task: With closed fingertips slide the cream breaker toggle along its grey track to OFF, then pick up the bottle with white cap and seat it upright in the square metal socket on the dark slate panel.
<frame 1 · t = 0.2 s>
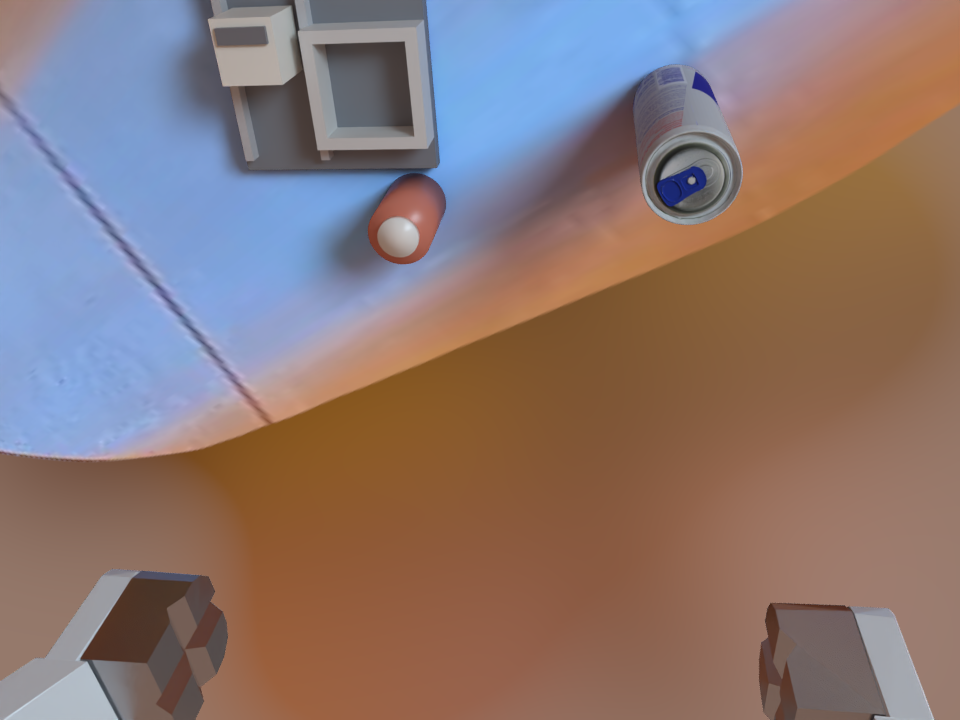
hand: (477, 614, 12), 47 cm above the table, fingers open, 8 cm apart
bottle with white cap: (416, 201, 59), on the table
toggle: (256, 46, 51), point 4 cm above the table, slide at 0.0 cm
panel: (323, 16, 53), on the table
beverage can: (671, 100, 53), on the table
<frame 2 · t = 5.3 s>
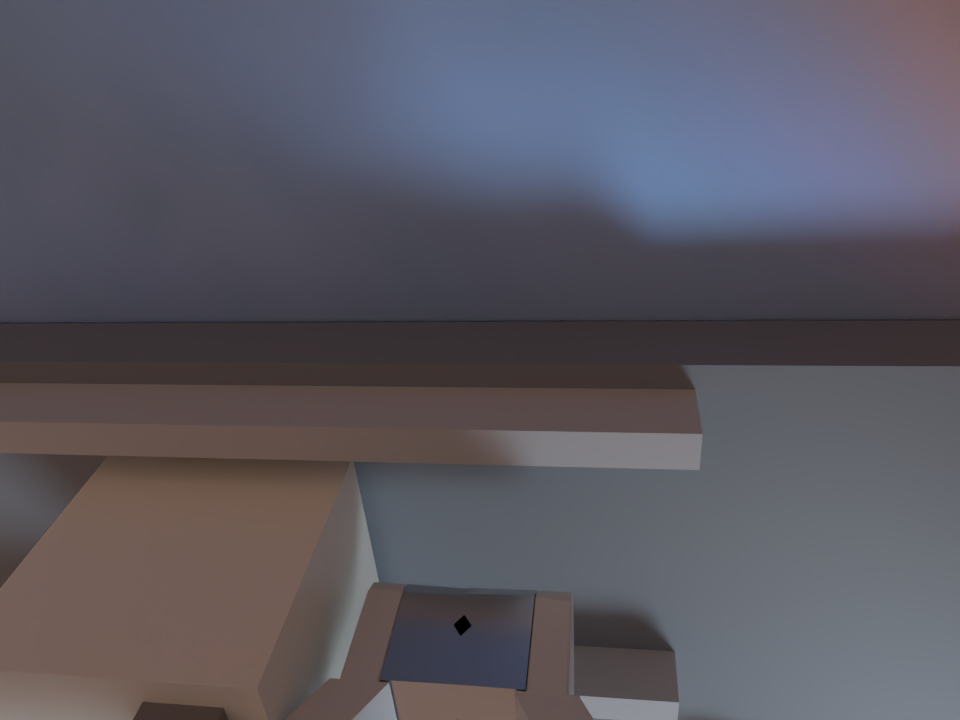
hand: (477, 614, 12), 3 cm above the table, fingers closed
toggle: (205, 653, 12), point 4 cm above the table, slide at 1.0 cm, touching gripper
panel: (417, 618, 16), on the table
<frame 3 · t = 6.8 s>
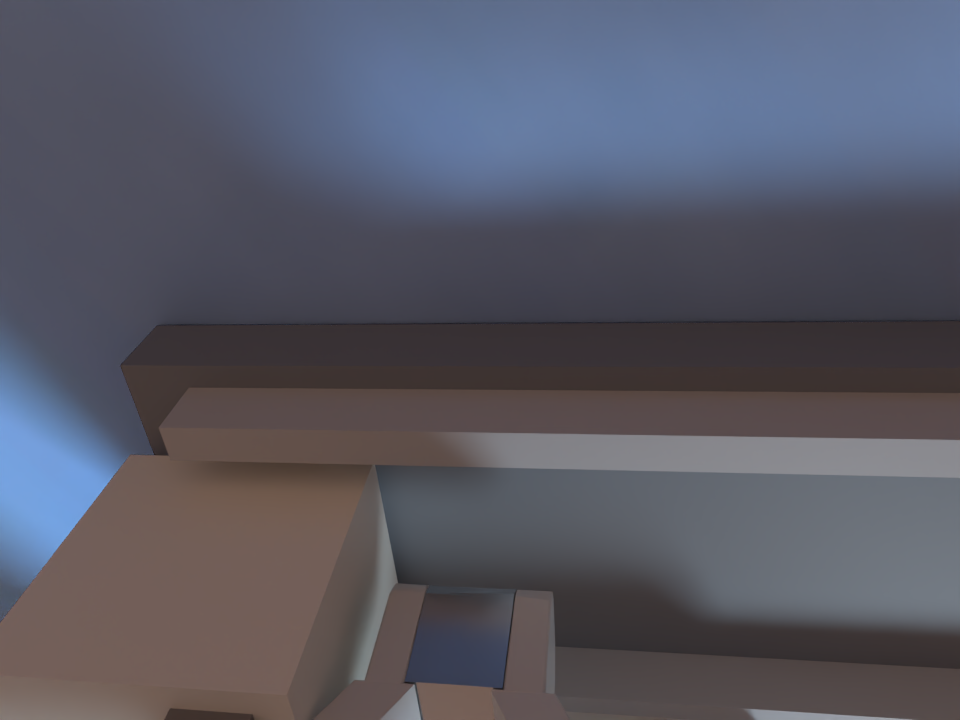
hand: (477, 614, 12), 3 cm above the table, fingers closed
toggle: (226, 658, 12), point 4 cm above the table, slide at 7.2 cm, touching gripper
panel: (748, 638, 15), on the table
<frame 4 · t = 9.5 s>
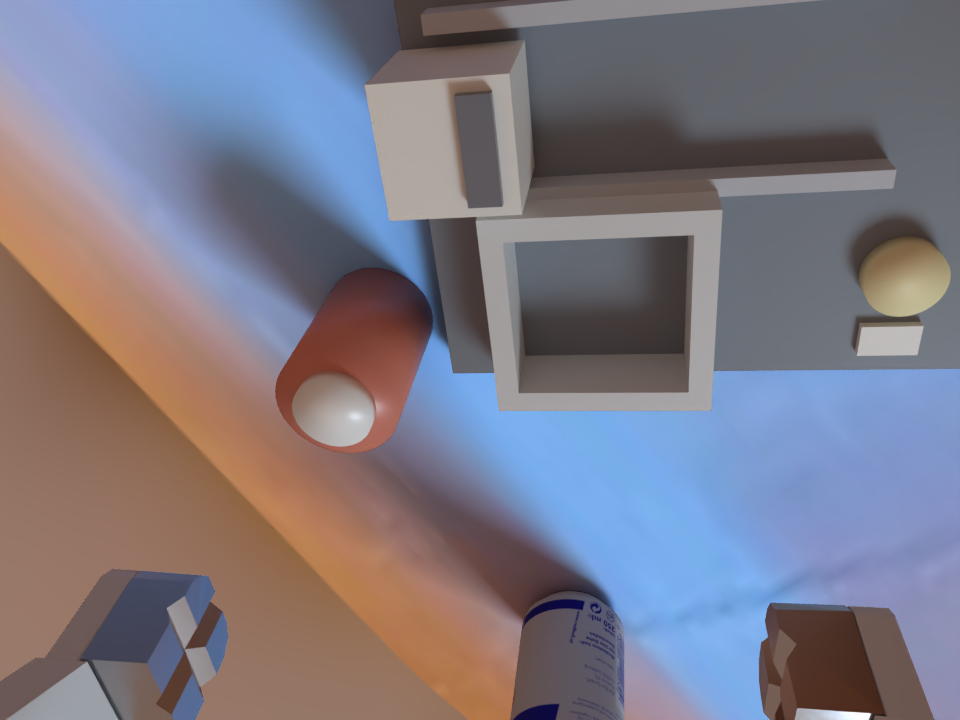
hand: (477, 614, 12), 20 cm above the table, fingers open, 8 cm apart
bottle with white cap: (380, 316, 33), on the table
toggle: (456, 131, 24), point 4 cm above the table, slide at 7.0 cm
panel: (716, 183, 27), on the table
beverage can: (573, 612, 41), on the table
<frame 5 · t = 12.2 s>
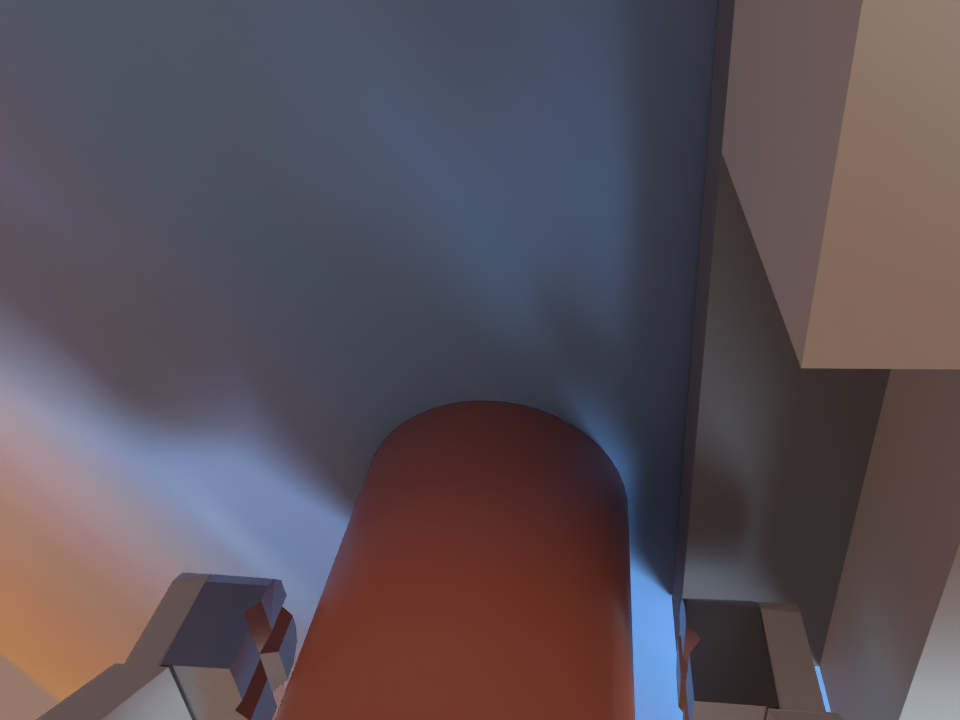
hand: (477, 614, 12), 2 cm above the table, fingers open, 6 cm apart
bottle with white cap: (494, 507, 13), on the table
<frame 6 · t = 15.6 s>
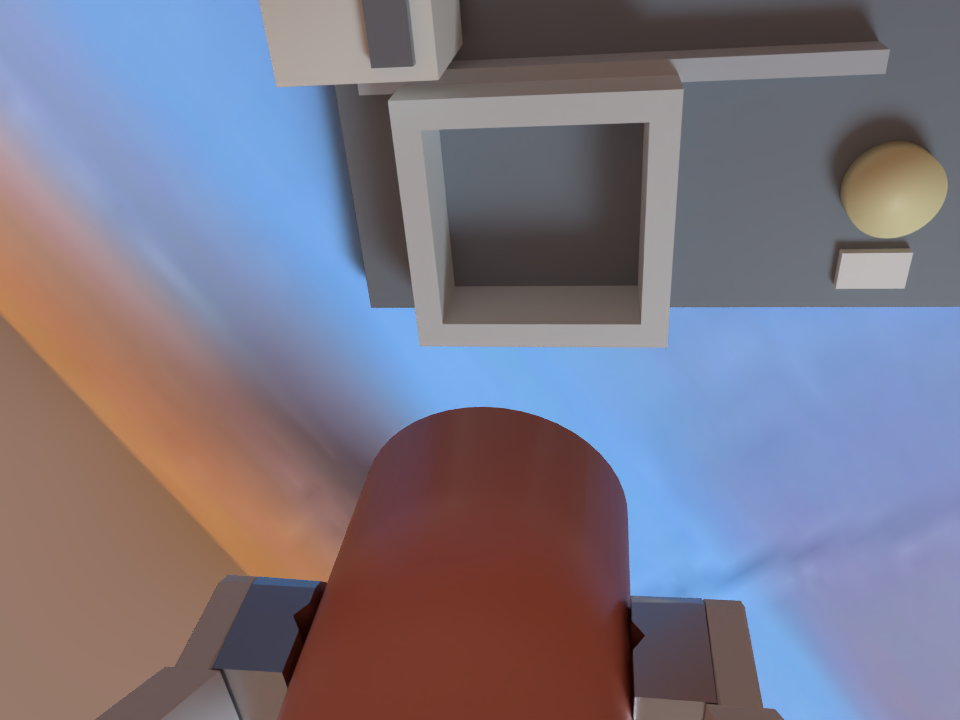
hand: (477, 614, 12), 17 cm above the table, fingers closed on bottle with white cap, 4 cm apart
bottle with white cap: (494, 513, 13), point 15 cm above the table, touching gripper
panel: (678, 77, 23), on the table
when the fingers open (5 cm above the table, at t = 18.9 s): bottle with white cap drops 1 cm, resting on panel.
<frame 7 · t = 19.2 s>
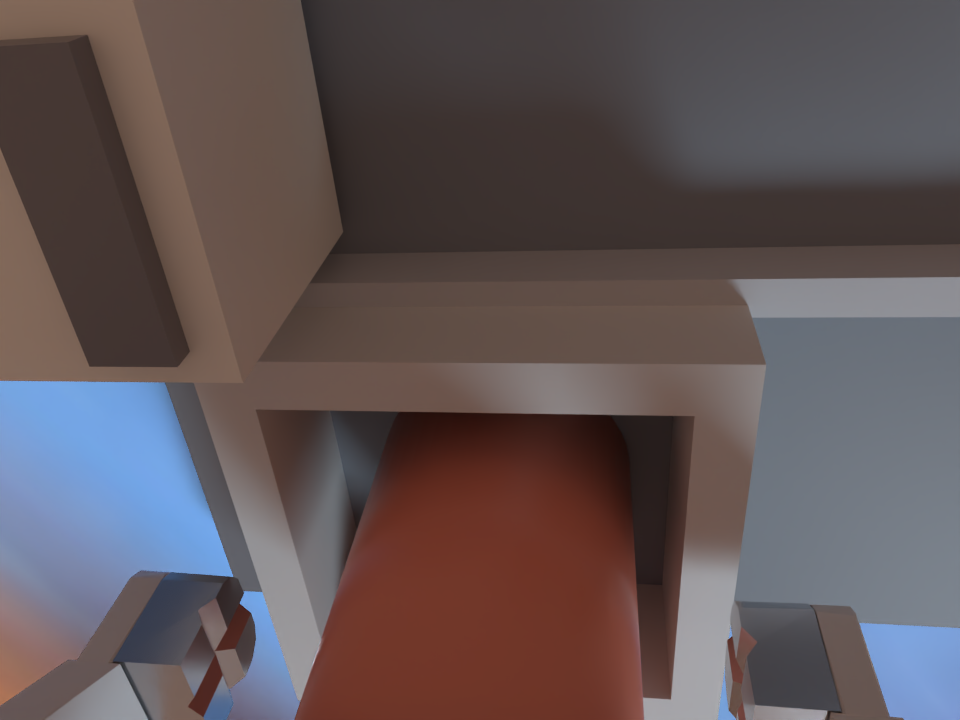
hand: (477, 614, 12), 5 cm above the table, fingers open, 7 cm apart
bottle with white cap: (506, 467, 14), point 1 cm above the table, touching panel
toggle: (102, 153, 9), point 4 cm above the table, slide at 7.0 cm
panel: (736, 271, 13), on the table
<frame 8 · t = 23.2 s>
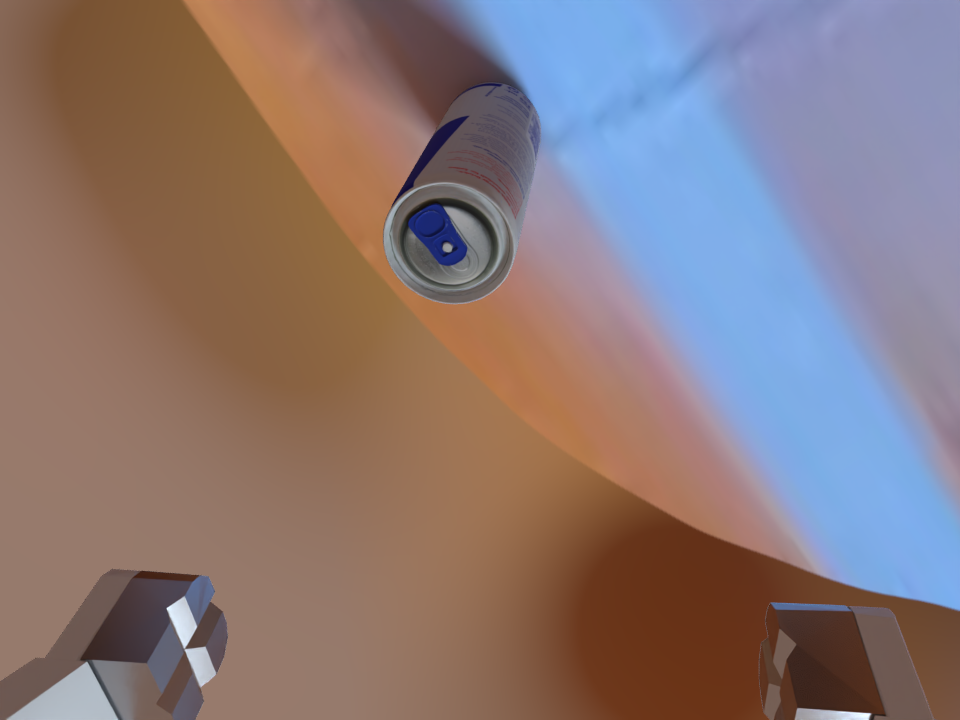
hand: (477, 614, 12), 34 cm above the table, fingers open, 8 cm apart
beverage can: (494, 126, 42), on the table
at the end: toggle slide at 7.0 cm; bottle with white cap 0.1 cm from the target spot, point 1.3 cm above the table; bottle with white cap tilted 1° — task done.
